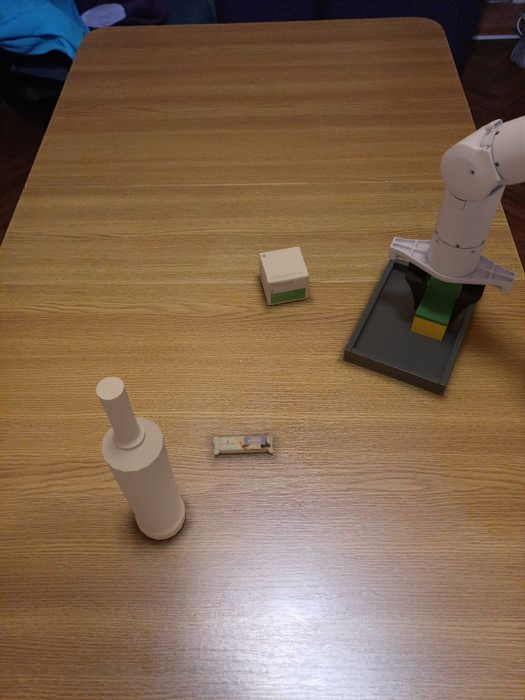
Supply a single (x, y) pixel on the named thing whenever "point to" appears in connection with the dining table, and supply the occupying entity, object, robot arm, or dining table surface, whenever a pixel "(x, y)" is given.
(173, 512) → the bottle
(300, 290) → the small box
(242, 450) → the granola bar
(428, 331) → the sponge
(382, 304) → the tray
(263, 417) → the dining table surface
